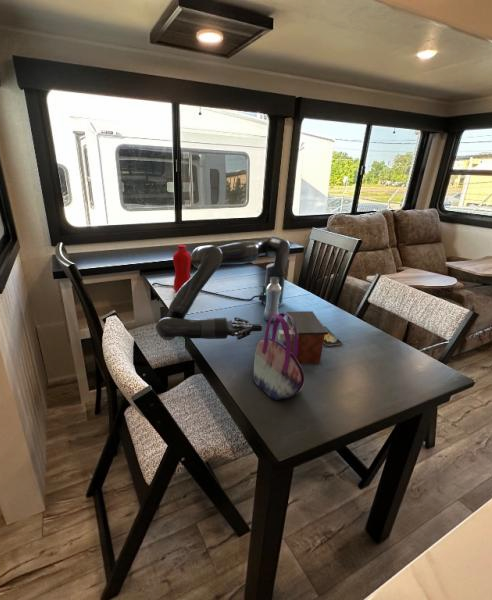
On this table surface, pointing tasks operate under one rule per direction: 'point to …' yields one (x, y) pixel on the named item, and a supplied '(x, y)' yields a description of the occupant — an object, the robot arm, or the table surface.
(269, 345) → the handbag
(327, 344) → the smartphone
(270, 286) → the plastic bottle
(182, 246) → the water bottle
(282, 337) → the piano key
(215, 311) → the table surface
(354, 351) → the table surface
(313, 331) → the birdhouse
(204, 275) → the robot arm
